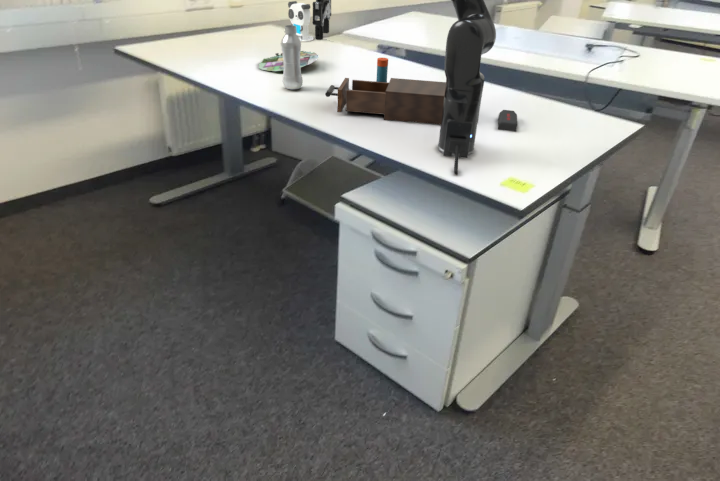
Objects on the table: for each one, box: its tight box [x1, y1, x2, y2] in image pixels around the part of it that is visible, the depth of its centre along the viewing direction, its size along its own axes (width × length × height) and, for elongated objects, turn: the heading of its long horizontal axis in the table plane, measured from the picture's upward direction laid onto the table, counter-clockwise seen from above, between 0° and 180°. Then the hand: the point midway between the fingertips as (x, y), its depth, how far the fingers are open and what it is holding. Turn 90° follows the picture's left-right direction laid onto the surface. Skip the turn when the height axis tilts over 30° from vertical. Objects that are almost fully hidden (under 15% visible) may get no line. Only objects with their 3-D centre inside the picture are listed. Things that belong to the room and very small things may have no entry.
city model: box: [258, 50, 319, 72], centre depth 205 cm, size 25×23×6 cm
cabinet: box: [383, 77, 446, 126], centre depth 163 cm, size 19×14×9 cm
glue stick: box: [375, 57, 389, 82], centre depth 176 cm, size 4×4×12 cm
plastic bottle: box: [280, 24, 304, 90], centre depth 178 cm, size 6×7×20 cm
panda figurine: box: [287, 0, 315, 43], centre depth 240 cm, size 12×11×15 cm
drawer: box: [325, 77, 389, 115], centre depth 165 cm, size 22×12×7 cm, turn 81°
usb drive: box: [497, 109, 518, 132], centre depth 161 cm, size 5×12×3 cm, turn 167°
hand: (322, 36), depth 160 cm, fingers open, 8 cm apart
